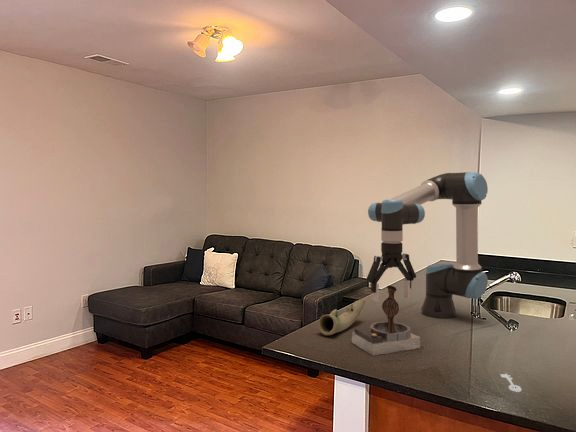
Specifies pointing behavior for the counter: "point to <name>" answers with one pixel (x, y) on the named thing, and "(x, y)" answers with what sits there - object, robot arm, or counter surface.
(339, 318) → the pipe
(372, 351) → the white flat device
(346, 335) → the counter surface
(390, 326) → the figurine
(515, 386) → the key
